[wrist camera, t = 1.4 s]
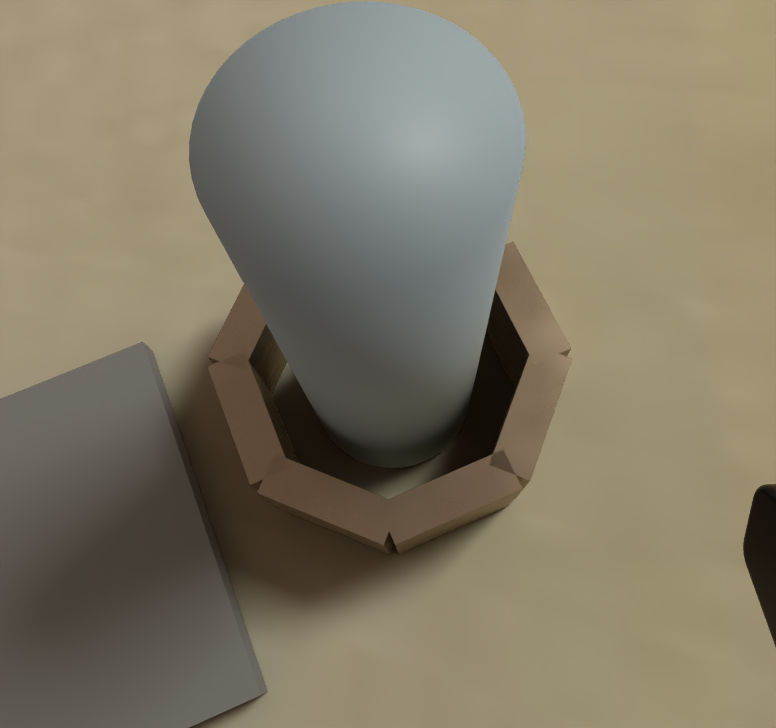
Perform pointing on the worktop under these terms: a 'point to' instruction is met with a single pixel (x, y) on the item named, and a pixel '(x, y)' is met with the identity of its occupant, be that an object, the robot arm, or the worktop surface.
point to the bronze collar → (428, 501)
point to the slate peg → (366, 211)
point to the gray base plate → (111, 561)
